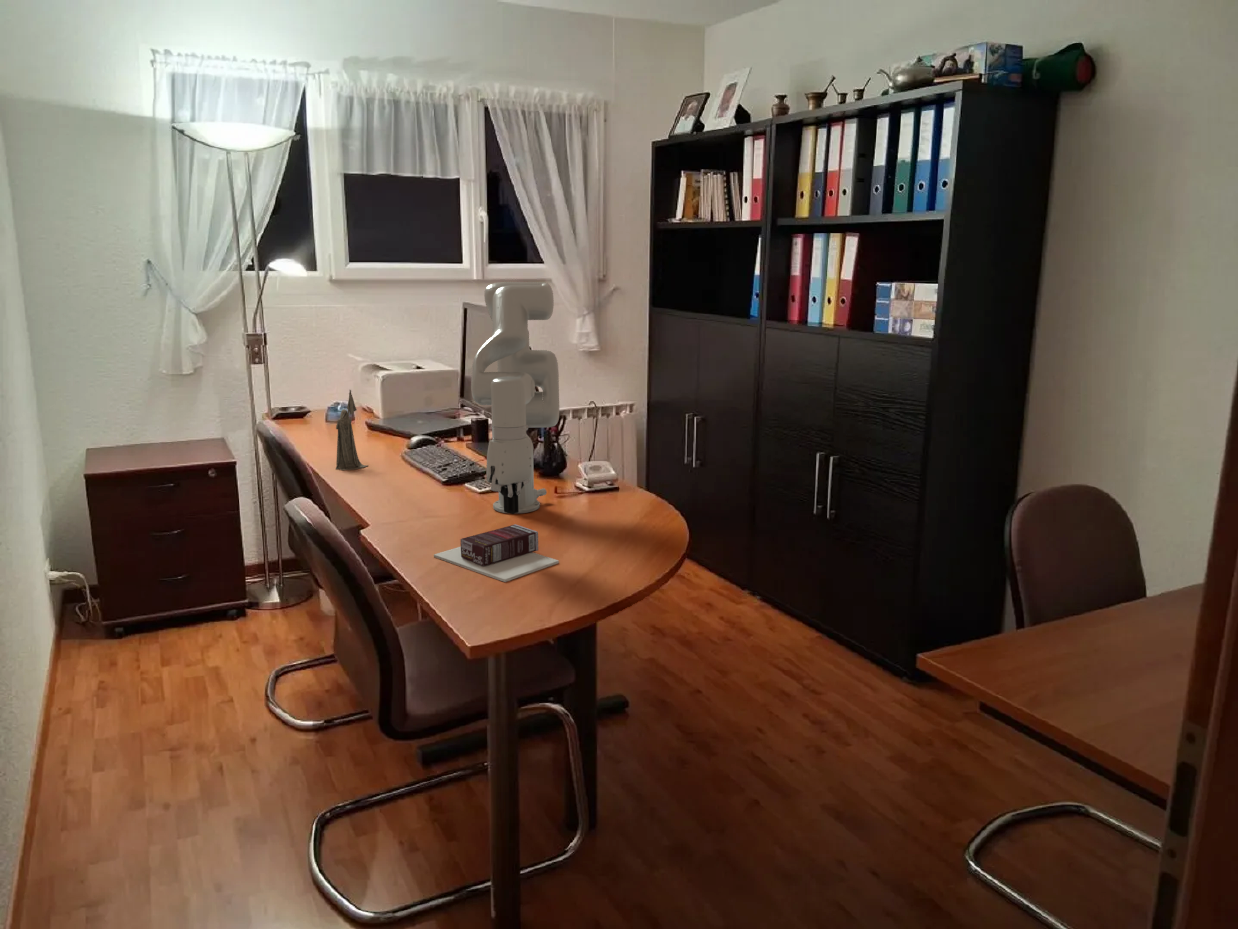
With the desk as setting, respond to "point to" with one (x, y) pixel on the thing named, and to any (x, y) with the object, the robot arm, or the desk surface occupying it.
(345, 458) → the wizard figurine
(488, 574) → the mat
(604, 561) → the desk surface
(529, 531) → the supplement box
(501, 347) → the robot arm
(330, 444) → the desk surface
